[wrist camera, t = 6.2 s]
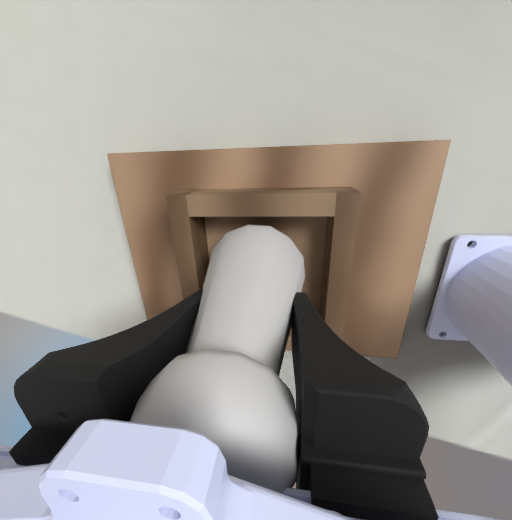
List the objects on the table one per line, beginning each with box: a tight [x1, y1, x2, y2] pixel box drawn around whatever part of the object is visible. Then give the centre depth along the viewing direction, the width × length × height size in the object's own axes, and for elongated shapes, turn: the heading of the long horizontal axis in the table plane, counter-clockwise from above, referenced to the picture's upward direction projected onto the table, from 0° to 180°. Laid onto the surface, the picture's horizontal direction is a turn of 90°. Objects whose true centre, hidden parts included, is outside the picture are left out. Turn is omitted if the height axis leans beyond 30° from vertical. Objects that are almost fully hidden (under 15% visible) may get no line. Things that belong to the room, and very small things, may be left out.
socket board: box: [107, 140, 451, 358], centre depth 17 cm, size 20×15×4 cm
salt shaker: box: [130, 225, 305, 494], centre depth 11 cm, size 6×6×13 cm
